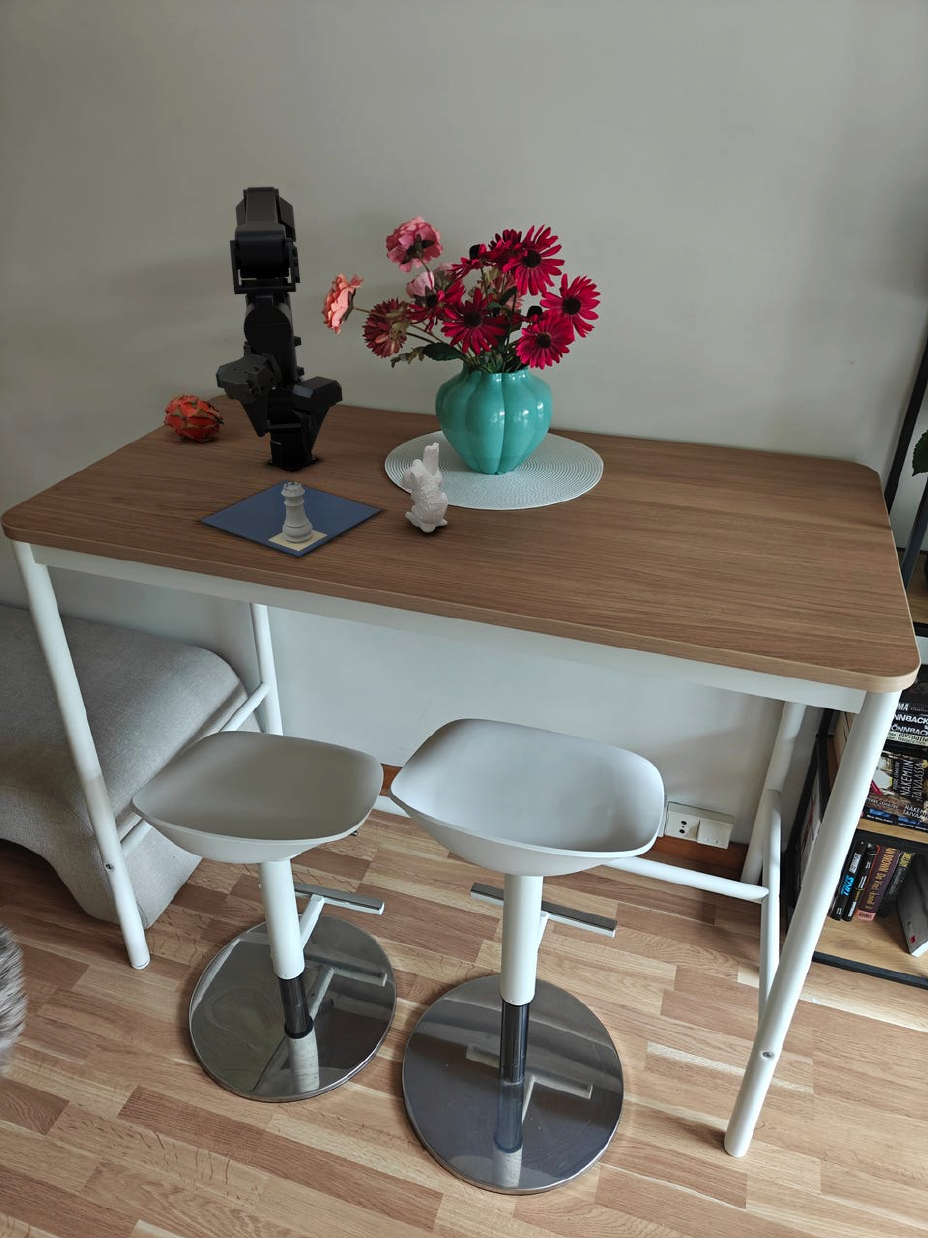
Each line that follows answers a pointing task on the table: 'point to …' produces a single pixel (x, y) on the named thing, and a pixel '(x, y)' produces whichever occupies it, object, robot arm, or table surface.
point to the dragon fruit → (192, 417)
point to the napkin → (268, 514)
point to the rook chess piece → (295, 515)
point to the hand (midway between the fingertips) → (285, 443)
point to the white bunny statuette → (426, 491)
